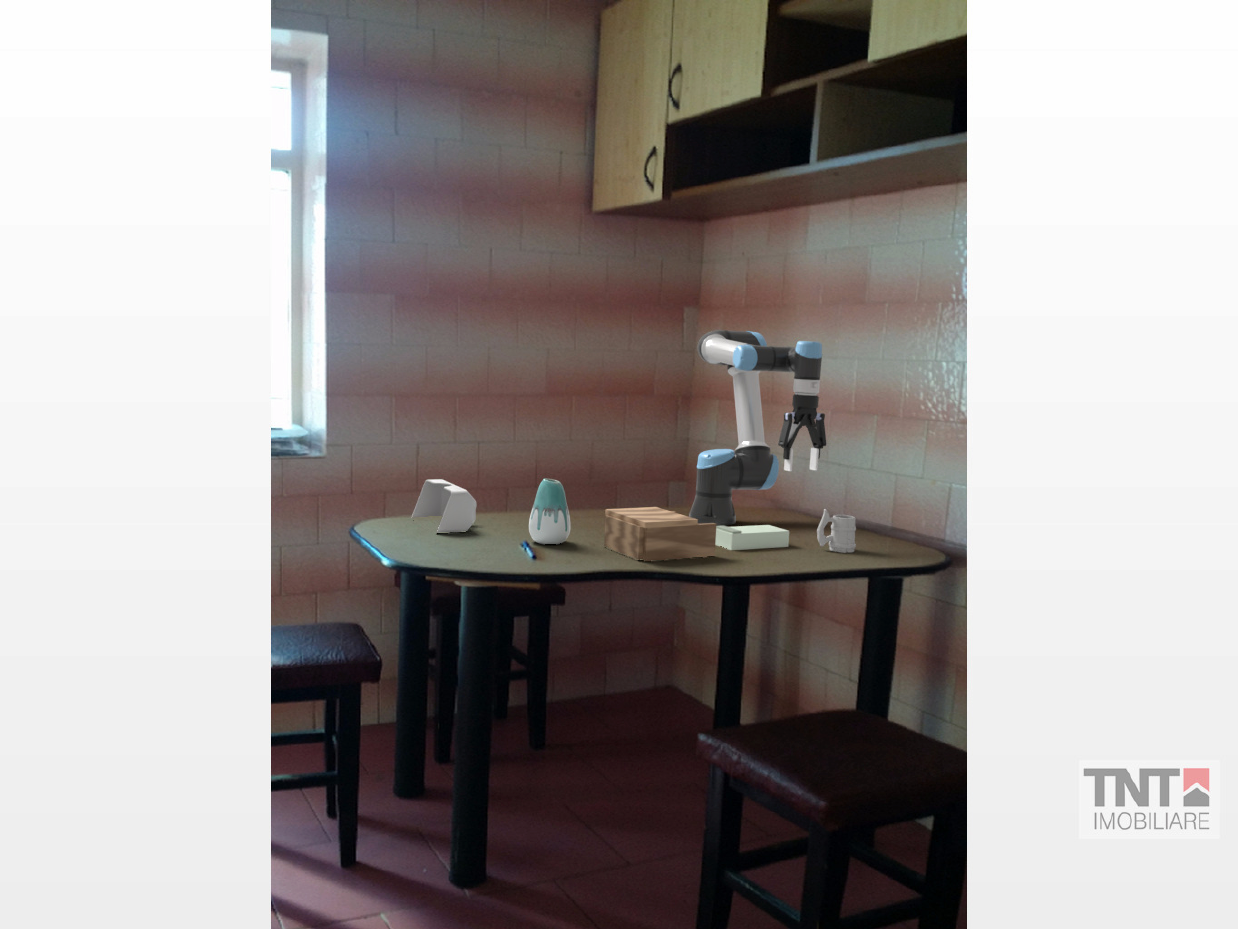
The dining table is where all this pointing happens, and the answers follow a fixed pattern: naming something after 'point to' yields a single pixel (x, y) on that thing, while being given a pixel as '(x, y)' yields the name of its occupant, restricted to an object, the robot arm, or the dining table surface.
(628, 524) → the wooden box
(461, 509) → the white angular cover
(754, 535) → the pale green block
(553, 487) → the vase
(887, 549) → the dining table surface
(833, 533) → the mug
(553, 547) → the dining table surface
